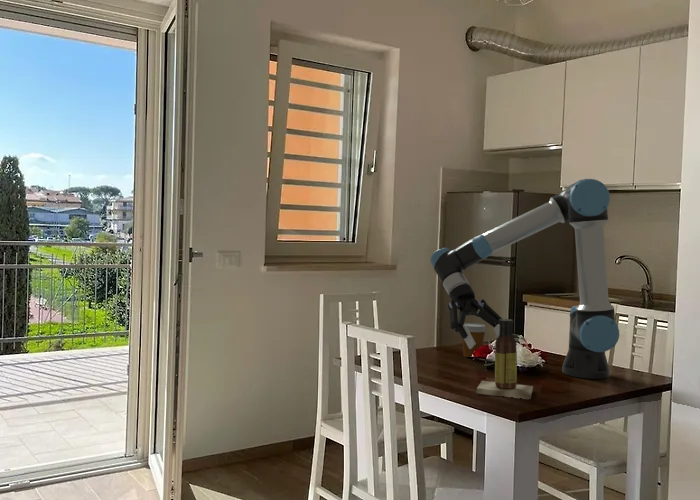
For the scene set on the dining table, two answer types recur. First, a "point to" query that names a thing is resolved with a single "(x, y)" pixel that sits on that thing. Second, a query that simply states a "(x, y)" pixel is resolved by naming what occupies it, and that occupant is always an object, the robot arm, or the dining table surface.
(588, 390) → the dining table surface
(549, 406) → the dining table surface
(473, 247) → the robot arm
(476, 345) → the disposable coffee cup
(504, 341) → the sauce bottle
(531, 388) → the birch board
